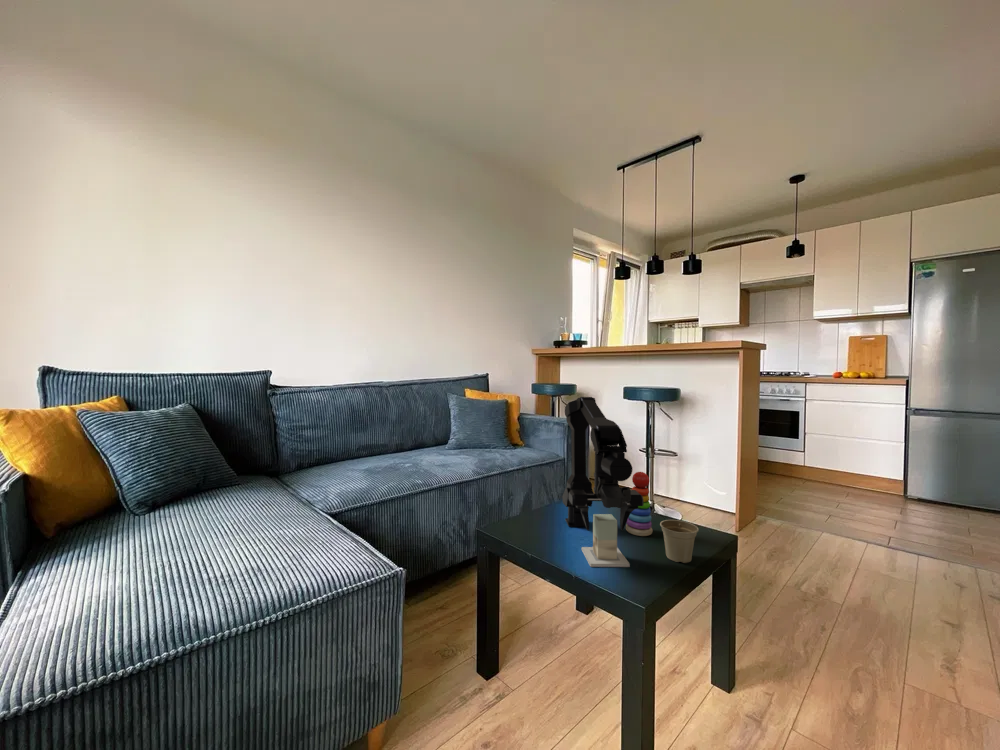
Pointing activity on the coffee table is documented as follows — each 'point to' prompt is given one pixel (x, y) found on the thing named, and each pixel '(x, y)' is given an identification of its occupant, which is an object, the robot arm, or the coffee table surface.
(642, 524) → the stacking toy
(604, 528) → the block sage
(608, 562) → the plate
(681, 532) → the flower pot
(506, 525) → the coffee table surface
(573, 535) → the coffee table surface
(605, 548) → the block birch
